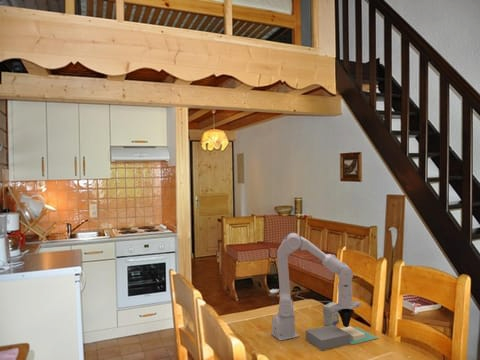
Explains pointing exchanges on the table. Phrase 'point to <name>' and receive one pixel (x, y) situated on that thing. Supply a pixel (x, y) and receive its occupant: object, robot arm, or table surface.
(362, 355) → the table surface
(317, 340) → the block
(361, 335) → the white flat block
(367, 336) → the mat
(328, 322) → the medicine box
